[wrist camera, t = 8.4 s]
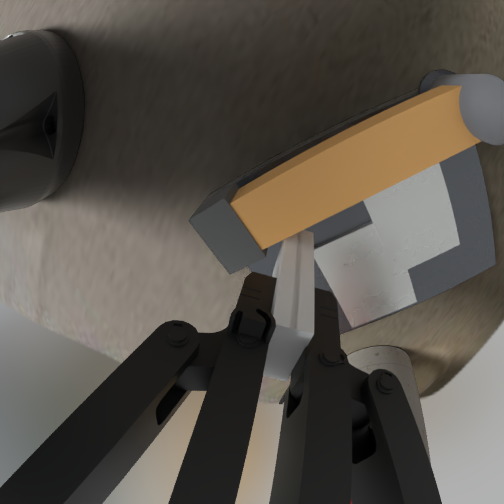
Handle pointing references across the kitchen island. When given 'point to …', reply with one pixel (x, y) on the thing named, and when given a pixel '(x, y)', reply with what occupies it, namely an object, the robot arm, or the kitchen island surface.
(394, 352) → the thermos bottle
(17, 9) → the kitchen island surface
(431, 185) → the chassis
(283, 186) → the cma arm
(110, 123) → the kitchen island surface
